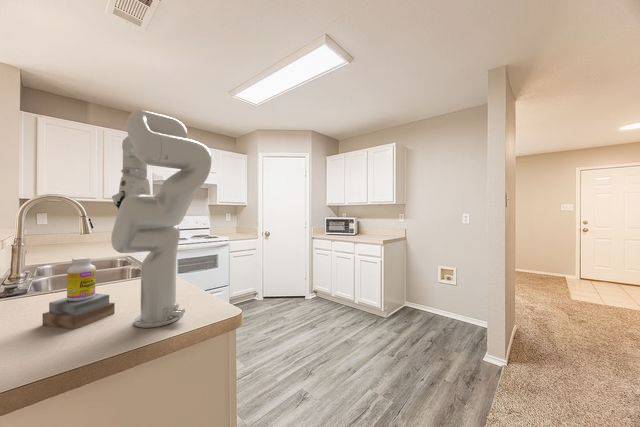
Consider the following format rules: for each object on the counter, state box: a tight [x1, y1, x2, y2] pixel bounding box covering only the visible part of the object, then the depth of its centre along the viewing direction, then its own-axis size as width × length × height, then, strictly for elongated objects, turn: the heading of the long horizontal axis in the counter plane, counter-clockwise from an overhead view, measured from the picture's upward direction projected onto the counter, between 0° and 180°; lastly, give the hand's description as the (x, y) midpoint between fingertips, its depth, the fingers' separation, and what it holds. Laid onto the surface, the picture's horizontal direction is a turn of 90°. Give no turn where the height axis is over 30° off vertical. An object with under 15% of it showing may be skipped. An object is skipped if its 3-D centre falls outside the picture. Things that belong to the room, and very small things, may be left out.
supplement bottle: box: [66, 256, 97, 301], centre depth 83 cm, size 7×7×13 cm
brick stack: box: [42, 293, 116, 330], centre depth 83 cm, size 12×12×6 cm
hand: (134, 219), depth 99 cm, fingers open, 9 cm apart
